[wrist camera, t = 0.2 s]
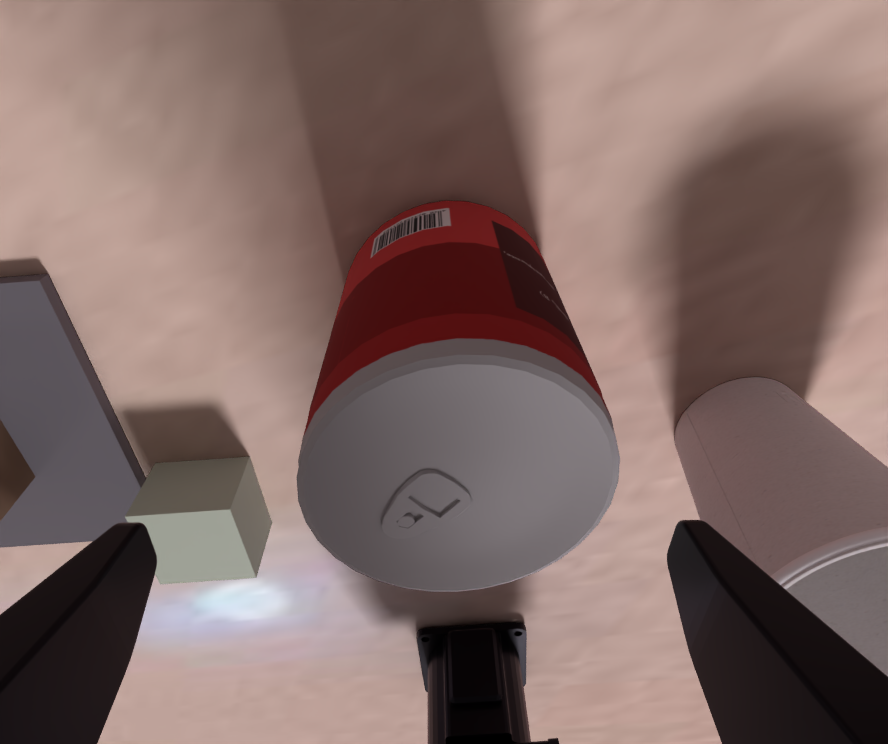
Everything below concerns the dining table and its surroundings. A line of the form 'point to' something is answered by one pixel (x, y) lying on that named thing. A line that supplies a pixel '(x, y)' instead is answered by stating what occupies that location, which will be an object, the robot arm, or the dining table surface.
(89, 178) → the dining table surface
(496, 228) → the canned food
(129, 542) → the robot arm
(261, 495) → the sage block
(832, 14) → the dining table surface
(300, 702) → the dining table surface
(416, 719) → the dining table surface
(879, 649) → the dixie cup
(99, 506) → the plate
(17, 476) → the tower base
